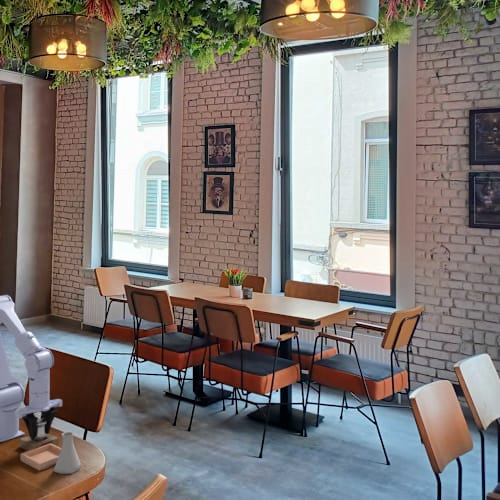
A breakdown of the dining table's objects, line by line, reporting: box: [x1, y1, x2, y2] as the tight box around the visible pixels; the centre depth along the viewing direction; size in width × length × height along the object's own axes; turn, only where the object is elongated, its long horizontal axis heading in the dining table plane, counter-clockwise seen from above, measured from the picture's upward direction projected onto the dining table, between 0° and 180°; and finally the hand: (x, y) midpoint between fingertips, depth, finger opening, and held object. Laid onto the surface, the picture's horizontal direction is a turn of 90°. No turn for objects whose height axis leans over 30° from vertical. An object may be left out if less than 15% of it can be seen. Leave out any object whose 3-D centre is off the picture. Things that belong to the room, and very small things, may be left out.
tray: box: [20, 443, 62, 472], centre depth 162 cm, size 10×10×2 cm
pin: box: [34, 418, 47, 442], centre depth 171 cm, size 4×4×8 cm
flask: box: [53, 431, 82, 475], centre depth 157 cm, size 7×7×10 cm
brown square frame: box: [19, 433, 60, 452], centre depth 171 cm, size 8×8×2 cm
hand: (39, 435), depth 171 cm, fingers closed on pin, 4 cm apart
